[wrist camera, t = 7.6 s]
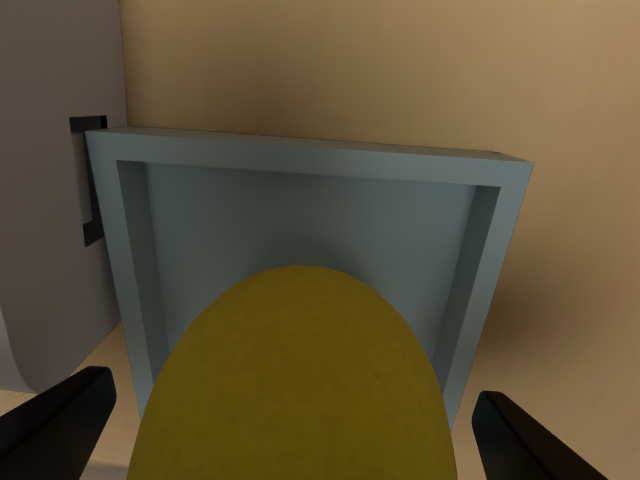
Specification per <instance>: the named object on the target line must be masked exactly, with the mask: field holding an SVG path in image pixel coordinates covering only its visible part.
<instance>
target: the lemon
mask: <svg viewBox="0 0 640 480" xmlns="http://www.w3.org/2000/svg"><path fill="white" fill-rule="evenodd" d="M126 480H458V479H457V469H456V462H455V456H454V449H453V444H452V439H451V433H450V428H449V423H448V418H447V413H446V409H445V404H444V400H443V396H442V393H441V389H440V386H439V383H438V380H437V377H436V375H435V372H434V370H433V367H432V365H431V364H430V362H429V360H428V358H427V356H426V354H425V352H424V350H423V349H422V347H421V345H420V343H419V342H418V340H417V338H416V336H415V334H414V333H413V331H412V329H411V328H410V326H409V325H408V323H407V322H406V320H405V319H404V318H403V317H402V316H401V314H400V313H399V312H398V311H397V310H396V309H395V308H394V307H393V306H392V305H391V304H390V303H389V302H388V301H386V300H385V299H384V298H383V297H382V296H381V295H380V294H379V293H378V292H377V291H376V290H374V289H373V288H372V287H370V286H368V285H367V284H365V283H363V282H361V281H359V280H358V279H356V278H354V277H352V276H351V275H349V274H346V273H343V272H340V271H336V270H333V269H329V268H326V267H322V266H312V265H289V266H284V267H279V268H274V269H269V270H264V271H261V272H259V273H257V274H255V275H253V276H251V277H248V278H246V279H244V280H242V281H240V282H238V283H236V284H234V285H233V286H231V287H230V288H228V289H227V290H226V291H225V292H224V293H223V294H221V295H220V296H219V297H218V298H217V299H215V300H214V301H213V302H212V303H211V304H209V305H208V306H207V307H206V308H205V309H204V310H203V311H201V312H200V314H199V315H198V316H197V317H196V318H195V319H194V320H193V321H192V323H191V324H190V326H189V327H188V329H187V330H186V331H185V333H184V334H183V336H182V337H181V339H180V340H179V342H178V343H177V345H176V346H175V348H174V349H173V351H172V352H171V354H170V355H169V357H168V358H167V360H166V362H165V364H164V366H163V367H162V369H161V371H160V373H159V375H158V377H157V379H156V382H155V384H154V386H153V388H152V391H151V393H150V396H149V399H148V402H147V404H146V407H145V410H144V414H143V417H142V421H141V424H140V427H139V431H138V435H137V438H136V442H135V446H134V450H133V453H132V457H131V461H130V465H129V470H128V475H127V479H126Z"/></svg>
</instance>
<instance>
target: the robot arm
mask: <svg viewBox="0 0 640 480" xmlns="http://www.w3.org/2000/svg"><path fill="white" fill-rule="evenodd" d="M116 397H117V394H116V389H115V385H114V380H113V376H112V372H111V370H110V369H109V368H108V367H102V366H89V367H86V368H84V369H83V370H81V371H79V372H77V373H76V374H74V375H72V376H70V377H69V378H67V379H65V380H63V381H62V382H60V383H58V384H56V385H55V386H53V387H51V388H49V389H48V390H46V391H44V392H42V393H41V394H39V395H37V396H35V397H34V398H32V399H30V400H28V401H27V402H25V403H23V404H21V405H20V406H18V407H16V408H14V409H13V410H11V411H9V412H7V413H6V414H4V415H2V416H0V480H79V479H80V477H81V474H82V473H83V471H84V469H85V467H86V465H87V462H88V460H89V458H90V456H91V454H92V452H93V450H94V448H95V446H96V444H97V441H98V439H99V437H100V435H101V433H102V431H103V429H104V427H105V425H106V423H107V420H108V418H109V416H110V414H111V412H112V410H113V408H114V405H115V403H116ZM472 428H473V432H474V435H475V439H476V442H477V446H478V450H479V453H480V457H481V460H482V464H483V468H484V471H485V475H486V478H487V480H608V479H607V478H606V477H605V476H603V475H602V474H601V473H600V472H599V471H597V470H596V469H595V468H594V467H592V466H591V465H590V464H589V463H588V462H586V461H585V460H584V459H583V458H581V457H580V456H579V455H578V454H577V453H575V452H574V451H573V450H572V449H570V448H569V447H568V446H567V445H566V444H564V443H563V442H562V441H561V440H560V439H558V438H557V437H556V436H555V435H553V434H552V433H551V432H550V431H549V430H547V429H546V428H545V427H544V426H542V425H541V424H540V423H539V422H538V421H536V420H535V419H534V418H533V417H531V416H530V415H529V414H528V413H527V412H525V411H524V410H523V409H522V408H521V407H519V406H518V405H517V404H516V403H514V402H513V401H512V400H511V399H510V398H508V397H507V396H506V395H505V394H503V393H501V392H498V391H482V392H481V393H480V394H479V397H478V400H477V403H476V406H475V409H474V412H473V415H472Z"/></svg>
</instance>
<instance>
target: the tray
mask: <svg viewBox="0 0 640 480" xmlns="http://www.w3.org/2000/svg"><path fill="white" fill-rule="evenodd" d="M85 136H86V141H87V146H88V151H89V156H90V161H91V166H92V172H93V177H94V182H95V187H96V192H97V197H98V202H99V207H100V213H101V218H102V223H103V228H104V233H105V238H106V243H107V248H108V253H109V259H110V264H111V269H112V274H113V279H114V284H115V289H116V294H117V300H118V305H119V310H120V315H121V320H122V325H123V330H124V335H125V341H126V346H127V351H128V356H129V361H130V366H131V371H132V376H133V382H134V387H135V392H136V397H137V402H138V407H139V412H140V417H141V421H142V417H143V414H144V410H145V407H146V404H147V402H148V399H149V396H150V393H151V391H152V388H153V386H154V384H155V382H156V379H157V377H158V375H159V373H160V371H161V369H162V367H163V366H164V364H165V362H166V360H167V358H168V357H169V355H170V354H171V352H172V351H173V349H174V348H175V346H176V345H177V343H178V342H179V340H180V339H181V337H182V336H183V334H184V333H185V331H186V330H187V329H188V327H189V326H190V324H191V323H192V321H193V320H194V319H195V318H196V317H197V316H198V315H199V314H200V312H201V311H203V310H204V309H205V308H206V307H207V306H208V305H209V304H211V303H212V302H213V301H214V300H215V299H217V298H218V297H219V296H220V295H221V294H223V293H224V292H225V291H226V290H227V289H228V288H230V287H231V286H233V285H234V284H236V283H238V282H240V281H242V280H244V279H246V278H248V277H251V276H253V275H255V274H257V273H259V272H261V271H264V270H269V269H274V268H279V267H284V266H289V265H312V266H322V267H326V268H329V269H333V270H336V271H340V272H343V273H346V274H349V275H351V276H352V277H354V278H356V279H358V280H359V281H361V282H363V283H365V284H367V285H368V286H370V287H372V288H373V289H374V290H376V291H377V292H378V293H379V294H380V295H381V296H382V297H383V298H384V299H385V300H386V301H388V302H389V303H390V304H391V305H392V306H393V307H394V308H395V309H396V310H397V311H398V312H399V313H400V314H401V316H402V317H403V318H404V319H405V320H406V322H407V323H408V325H409V326H410V328H411V329H412V331H413V333H414V334H415V336H416V338H417V340H418V342H419V343H420V345H421V347H422V349H423V350H424V352H425V354H426V356H427V358H428V360H429V362H430V364H431V365H432V367H433V370H434V372H435V375H436V377H437V380H438V383H439V386H440V389H441V393H442V396H443V400H444V404H445V409H446V413H447V418H448V423H449V428H450V433H451V430H452V427H453V424H454V420H455V417H456V414H457V411H458V407H459V404H460V401H461V398H462V395H463V391H464V388H465V385H466V382H467V378H468V375H469V372H470V369H471V366H472V362H473V359H474V356H475V353H476V349H477V346H478V343H479V340H480V337H481V333H482V330H483V327H484V324H485V320H486V317H487V314H488V311H489V308H490V304H491V301H492V298H493V295H494V291H495V288H496V285H497V282H498V279H499V275H500V272H501V269H502V266H503V262H504V259H505V256H506V253H507V250H508V246H509V243H510V240H511V237H512V233H513V230H514V227H515V224H516V220H517V217H518V214H519V211H520V208H521V204H522V201H523V198H524V195H525V191H526V188H527V185H528V182H529V179H530V175H531V172H532V169H533V166H534V163H533V162H530V161H526V160H523V159H519V158H516V157H512V156H509V155H505V154H502V153H498V152H488V151H474V150H460V149H446V148H432V147H418V146H404V145H390V144H376V143H362V142H347V141H333V140H319V139H305V138H291V137H277V136H263V135H249V134H235V133H221V132H207V131H192V130H178V129H164V128H150V127H136V126H124V127H115V128H106V129H98V130H89V131H85Z"/></svg>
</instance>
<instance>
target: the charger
mask: <svg viewBox="0 0 640 480" xmlns="http://www.w3.org/2000/svg"><path fill="white" fill-rule="evenodd" d="M101 115H106V116H107V126H108V128H115V127H124V126H127V110H126V94H125V78H124V62H123V47H122V33H121V18H120V6H119V2H118V0H0V389H1V390H9V391H17V392H25V393H33V394H41V393H42V392H44V391H46V390H48V389H49V388H51V387H53V386H55V385H56V384H58V383H60V382H62V381H63V380H65V379H67V378H68V377H69V376H70V374H71V373H72V372H73V371H74V370H75V369H76V368H77V367H78V366H79V365H80V364H81V363H82V362H83V361H84V360H85V358H86V357H87V356H88V355H89V354H90V353H91V352H92V351H93V350H94V349H95V348H96V347H97V346H98V345H99V344H100V343H101V341H102V340H103V339H104V338H105V337H106V336H107V335H108V334H109V333H110V332H111V331H112V330H113V329H114V328H115V327H116V326H117V324H118V323H119V322H120V321H121V315H120V310H119V305H118V300H117V294H116V289H115V284H114V279H113V274H112V269H111V264H110V259H109V253H108V248H107V243H106V238H105V233H104V228H103V223H102V218H101V213H100V207H99V202H98V197H97V192H96V187H95V182H94V177H93V172H92V166H91V161H90V156H89V151H88V146H87V141H86V136H85V131H89V130H98V129H101V118H100V116H101Z"/></svg>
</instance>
